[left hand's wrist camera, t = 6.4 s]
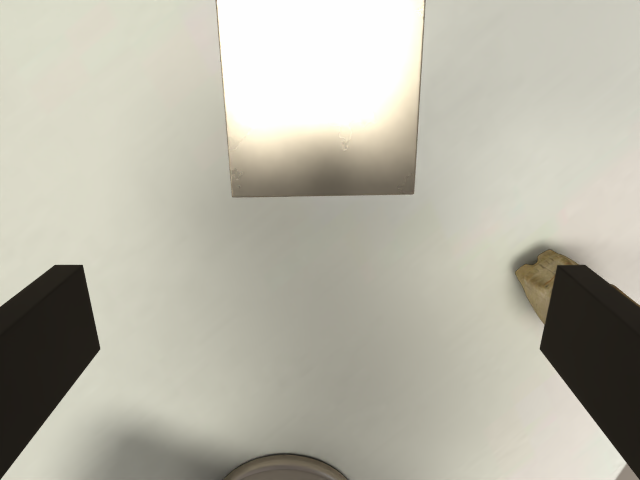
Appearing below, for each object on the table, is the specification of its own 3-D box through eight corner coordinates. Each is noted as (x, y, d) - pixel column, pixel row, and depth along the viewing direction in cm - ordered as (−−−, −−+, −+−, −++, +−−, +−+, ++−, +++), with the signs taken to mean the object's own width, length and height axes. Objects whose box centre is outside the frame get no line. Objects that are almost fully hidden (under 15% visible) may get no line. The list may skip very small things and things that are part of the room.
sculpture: (533, 329, 40) (653, 467, 26) (495, 268, 38) (602, 382, 24) (595, 294, 39) (755, 419, 25) (559, 229, 37) (711, 325, 23)
